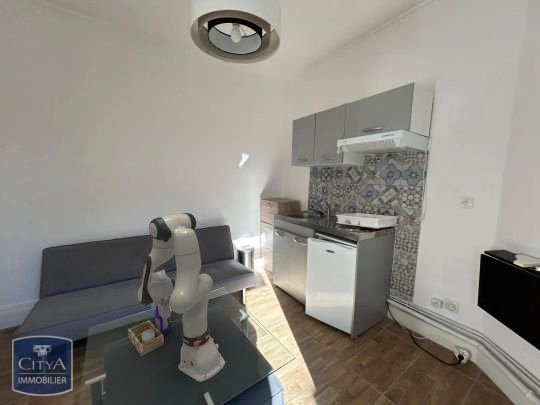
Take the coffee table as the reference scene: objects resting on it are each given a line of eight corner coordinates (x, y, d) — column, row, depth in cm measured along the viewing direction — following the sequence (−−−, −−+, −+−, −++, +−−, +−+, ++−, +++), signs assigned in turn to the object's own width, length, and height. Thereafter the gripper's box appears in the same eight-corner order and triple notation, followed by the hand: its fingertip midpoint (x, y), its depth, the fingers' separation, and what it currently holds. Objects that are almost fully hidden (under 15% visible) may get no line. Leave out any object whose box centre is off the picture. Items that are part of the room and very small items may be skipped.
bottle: (169, 330, 134) (167, 301, 133) (159, 335, 130) (157, 306, 128) (164, 325, 139) (161, 298, 137) (154, 330, 135) (152, 301, 133)
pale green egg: (157, 344, 121) (156, 332, 121) (145, 351, 117) (143, 338, 116) (153, 339, 125) (151, 327, 125) (141, 345, 121) (139, 332, 120)
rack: (164, 345, 122) (163, 335, 121) (141, 357, 114) (140, 346, 113) (150, 329, 135) (149, 320, 135) (129, 339, 127) (127, 329, 127)
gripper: (172, 300, 128) (174, 324, 129) (158, 289, 142) (159, 311, 143) (160, 305, 123) (163, 329, 124) (147, 293, 137) (149, 315, 138)
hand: (161, 319), depth 134 cm, fingers closed on bottle, 7 cm apart
